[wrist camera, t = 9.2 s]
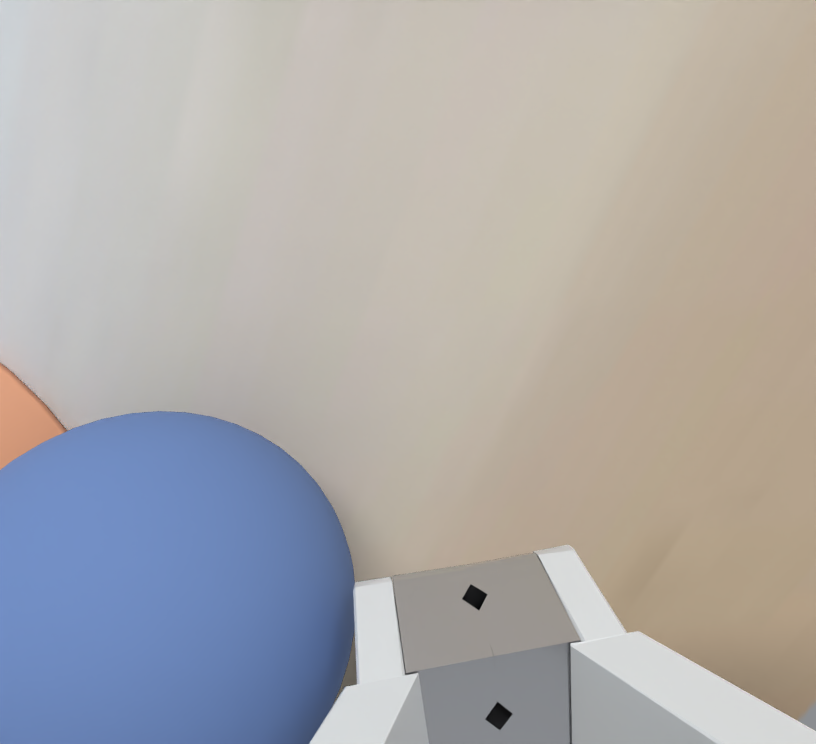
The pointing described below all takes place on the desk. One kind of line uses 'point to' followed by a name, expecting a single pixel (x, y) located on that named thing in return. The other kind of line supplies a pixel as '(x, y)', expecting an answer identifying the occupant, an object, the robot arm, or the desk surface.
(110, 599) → the ball
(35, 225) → the desk surface
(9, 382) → the disc
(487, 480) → the desk surface
